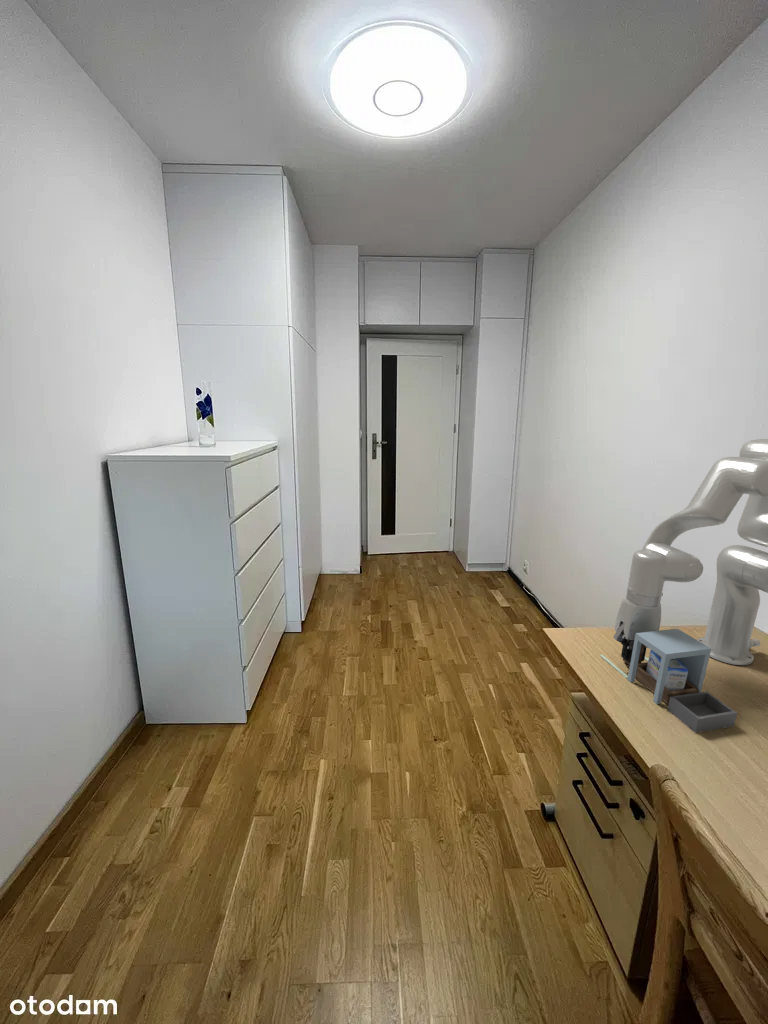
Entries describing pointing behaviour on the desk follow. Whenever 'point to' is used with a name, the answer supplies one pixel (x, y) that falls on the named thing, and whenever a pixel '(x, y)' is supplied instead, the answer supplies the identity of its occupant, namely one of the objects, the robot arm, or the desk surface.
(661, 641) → the tunnel
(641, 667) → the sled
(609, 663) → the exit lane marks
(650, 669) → the medicine box
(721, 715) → the tray
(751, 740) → the desk surface
